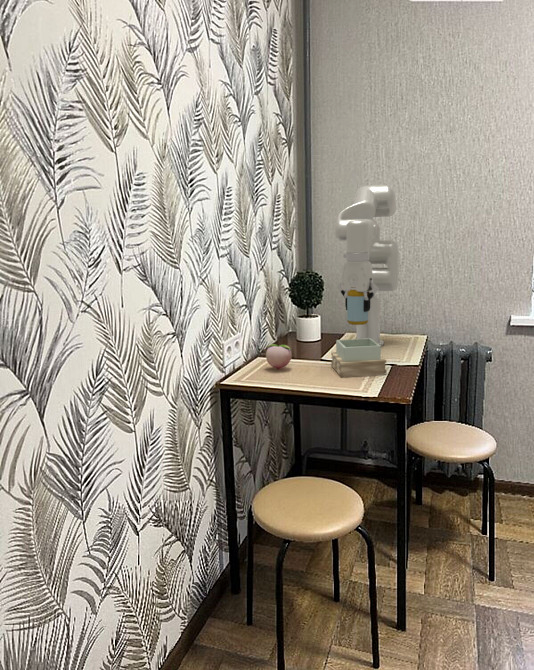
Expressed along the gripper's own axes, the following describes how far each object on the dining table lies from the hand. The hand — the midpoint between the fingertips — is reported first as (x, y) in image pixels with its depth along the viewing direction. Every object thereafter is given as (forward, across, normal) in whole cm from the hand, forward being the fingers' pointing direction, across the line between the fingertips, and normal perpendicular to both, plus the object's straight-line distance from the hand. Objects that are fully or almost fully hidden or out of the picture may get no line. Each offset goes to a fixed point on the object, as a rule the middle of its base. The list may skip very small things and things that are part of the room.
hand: (357, 309), depth 211 cm
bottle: (+5, 0, 0) cm, 5 cm away
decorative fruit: (+22, -24, -14) cm, 35 cm away
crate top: (+16, 0, 0) cm, 16 cm away
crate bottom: (+21, 0, 0) cm, 21 cm away
